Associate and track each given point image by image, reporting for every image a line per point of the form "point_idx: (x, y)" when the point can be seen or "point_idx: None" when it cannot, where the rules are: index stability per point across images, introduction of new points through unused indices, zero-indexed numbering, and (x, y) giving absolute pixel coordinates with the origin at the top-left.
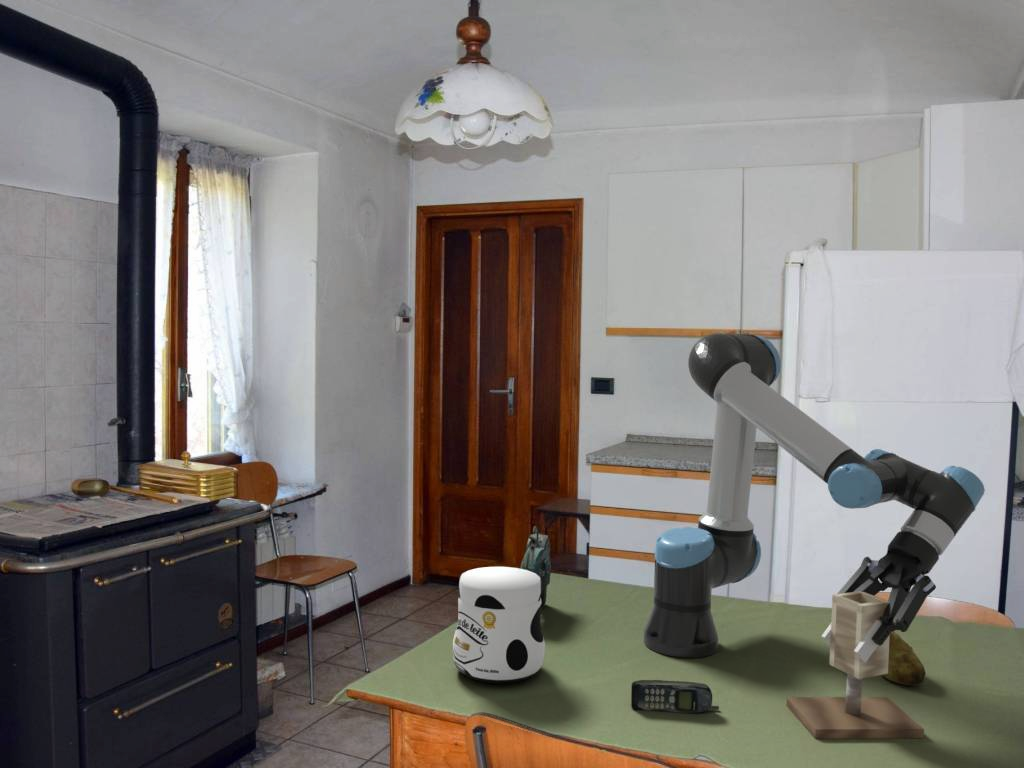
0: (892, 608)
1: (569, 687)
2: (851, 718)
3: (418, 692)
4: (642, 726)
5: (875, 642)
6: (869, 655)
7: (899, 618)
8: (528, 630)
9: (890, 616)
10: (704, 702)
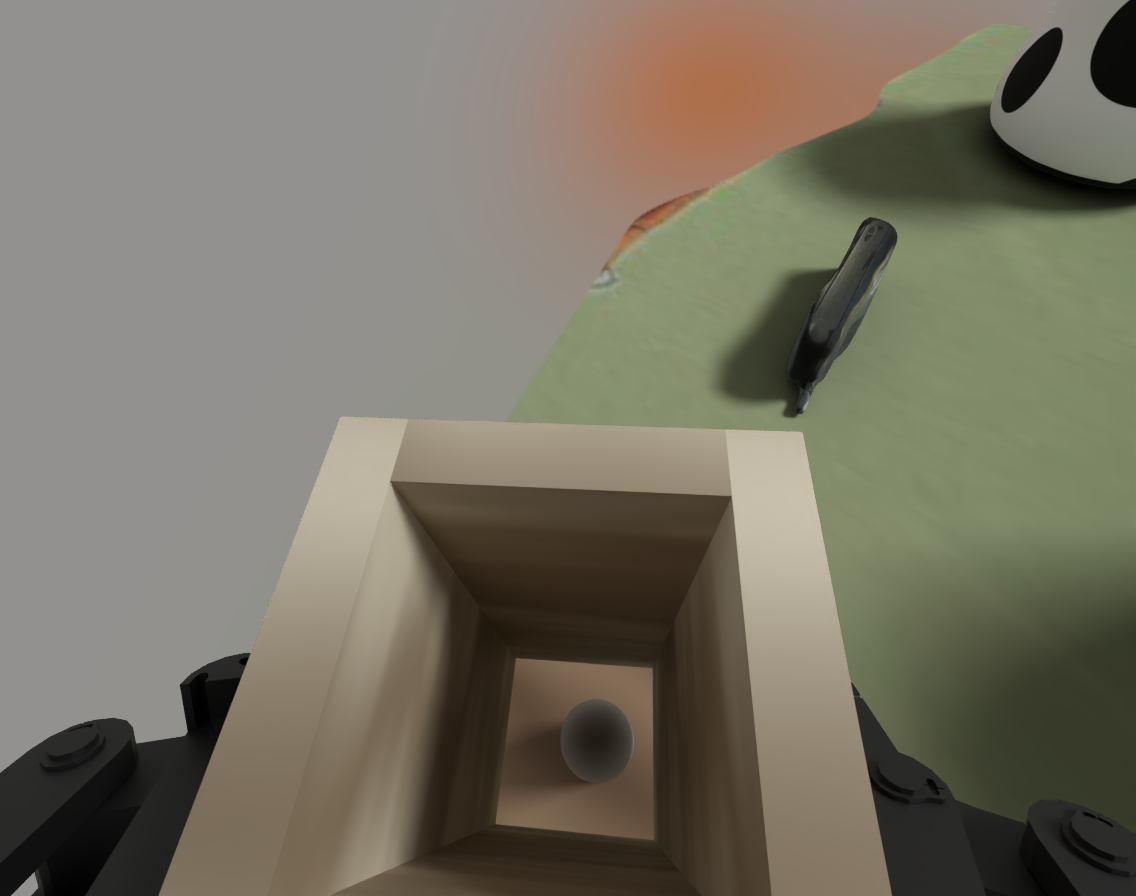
0: (90, 894)
1: (984, 218)
2: (564, 694)
3: (973, 63)
4: (759, 253)
5: None
6: None
7: (24, 775)
8: (1098, 25)
9: (162, 777)
10: (792, 352)
